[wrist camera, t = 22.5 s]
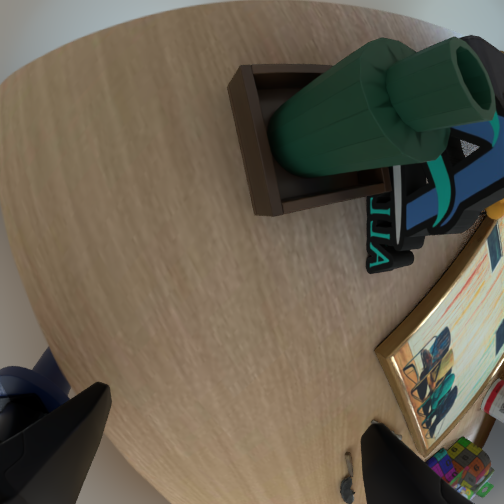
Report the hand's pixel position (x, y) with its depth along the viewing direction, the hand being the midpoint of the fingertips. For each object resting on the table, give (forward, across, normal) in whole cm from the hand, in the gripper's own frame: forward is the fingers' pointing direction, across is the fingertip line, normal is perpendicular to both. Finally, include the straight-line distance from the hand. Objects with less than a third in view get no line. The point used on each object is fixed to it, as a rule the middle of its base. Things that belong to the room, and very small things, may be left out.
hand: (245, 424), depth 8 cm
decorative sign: (+18, -9, -10) cm, 22 cm away
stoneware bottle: (+15, -2, -10) cm, 18 cm away
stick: (+12, -16, +23) cm, 31 cm away
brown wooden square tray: (+16, -2, -9) cm, 19 cm away
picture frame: (+20, -34, +7) cm, 40 cm away
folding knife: (+11, -23, +31) cm, 40 cm away
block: (+15, -47, +38) cm, 62 cm away
